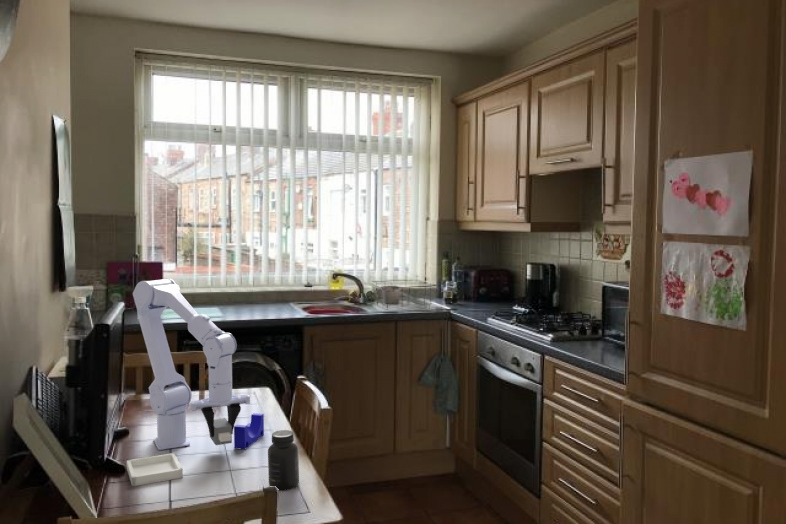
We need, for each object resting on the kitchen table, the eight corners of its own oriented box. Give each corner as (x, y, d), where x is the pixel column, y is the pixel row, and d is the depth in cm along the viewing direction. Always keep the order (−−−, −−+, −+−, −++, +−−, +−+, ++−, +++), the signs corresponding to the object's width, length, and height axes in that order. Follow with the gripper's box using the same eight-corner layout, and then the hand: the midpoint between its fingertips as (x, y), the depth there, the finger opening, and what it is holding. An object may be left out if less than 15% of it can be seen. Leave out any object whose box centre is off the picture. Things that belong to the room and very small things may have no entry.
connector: (209, 436, 171) (209, 420, 171) (225, 434, 173) (225, 418, 173) (217, 448, 163) (217, 430, 163) (234, 445, 165) (233, 428, 164)
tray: (126, 468, 159) (126, 460, 159) (174, 460, 164) (174, 452, 164) (132, 486, 149) (131, 477, 149) (182, 477, 154) (182, 469, 154)
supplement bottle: (285, 476, 154) (284, 426, 153) (305, 484, 150) (304, 432, 149) (262, 486, 149) (261, 433, 148) (282, 494, 144) (281, 440, 144)
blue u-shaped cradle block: (248, 433, 185) (248, 412, 185) (263, 435, 184) (263, 413, 184) (229, 448, 174) (228, 426, 173) (244, 449, 173) (244, 427, 172)
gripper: (194, 388, 161) (194, 443, 162) (252, 382, 167) (253, 434, 168) (188, 382, 167) (189, 435, 168) (245, 376, 173) (246, 427, 174)
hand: (221, 434), depth 168 cm, fingers closed on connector, 4 cm apart
